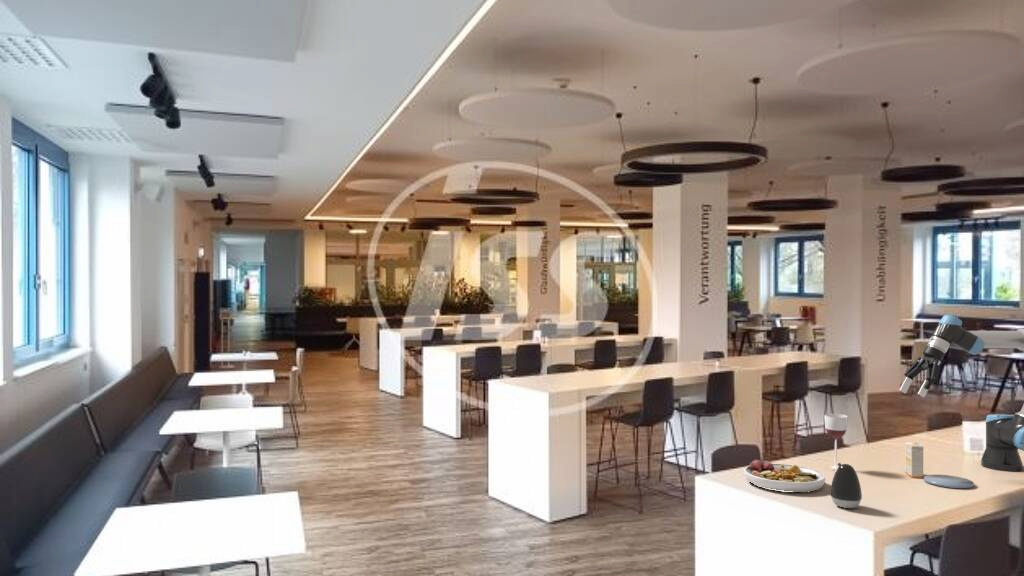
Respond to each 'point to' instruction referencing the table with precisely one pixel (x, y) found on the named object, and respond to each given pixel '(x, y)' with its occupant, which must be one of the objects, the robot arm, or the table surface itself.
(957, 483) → the dish
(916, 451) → the supplement box
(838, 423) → the wineglass
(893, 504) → the table surface
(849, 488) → the black egg-shaped piece
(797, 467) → the bowl
